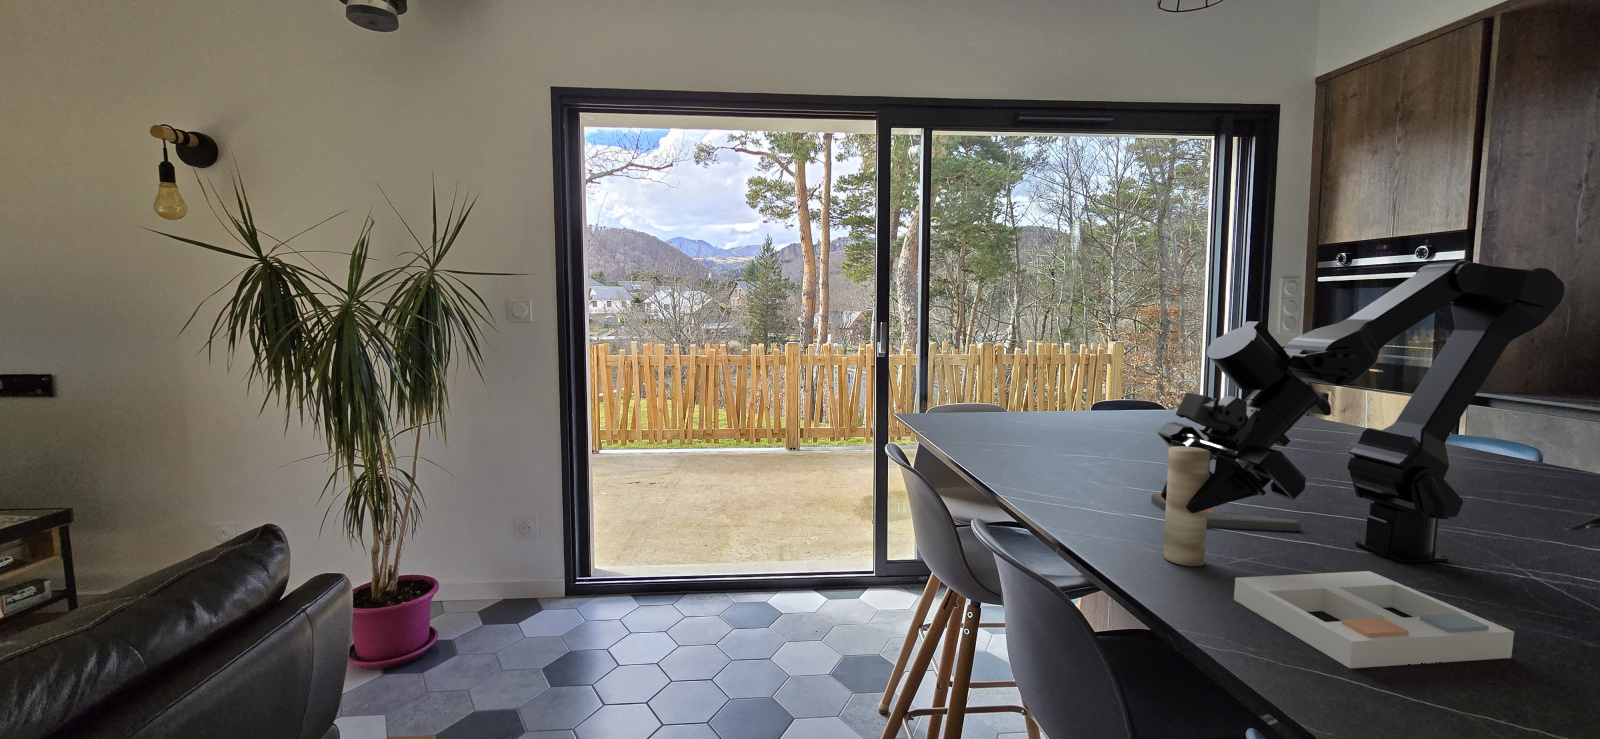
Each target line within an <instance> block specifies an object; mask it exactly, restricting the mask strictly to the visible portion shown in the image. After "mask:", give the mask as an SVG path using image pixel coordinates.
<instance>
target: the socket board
mask: <svg viewBox="0 0 1600 739" xmlns="http://www.w3.org/2000/svg"><path fill="white" fill-rule="evenodd" d="M1233 600H1234V601H1235V602H1237V603H1239V604H1240V605H1242V606H1244V607H1245V608H1247V609H1249V610H1250V611H1251V612H1254V613H1255V614H1257V615H1259V616H1260V617H1262V618H1264V619H1266V620H1267V621H1269V622H1271V623H1272V624H1274V625H1276V626H1277V627H1279V628H1281V629H1282V630H1284V631H1285V632H1288V633H1289V634H1291V635H1293V636H1294V637H1296V638H1298V639H1299V640H1301V641H1303V642H1304V643H1306V644H1308V645H1310V646H1311V647H1313V648H1314V649H1316V650H1318V651H1320V653H1321V652H1322V653H1323V654H1324V655H1327V656H1328V657H1330V658H1331V659H1333V660H1335V661H1336V662H1338V663H1340V664H1342V665H1343V666H1345V667H1346V668H1348V669H1361V668H1364V669H1365V668H1375V667H1376V668H1377V667H1390V666H1391V667H1393V666H1408V664H1410V665H1422V664H1421V663H1423V664H1424V663H1425V664H1438V663H1439V662H1441V663H1451V662H1452V663H1453V662H1467V661H1468V662H1469V661H1485V660H1498V659H1512V656H1513V654H1512V653H1513V646H1514V637H1515V631H1514V630H1511V629H1509V628H1506V627H1504V626H1502V625H1500V624H1497V623H1495V622H1492V621H1489V620H1487V619H1485V618H1483V617H1480V616H1478V615H1476V614H1473V613H1470V612H1468V611H1465V610H1464V609H1461V608H1459V607H1456V606H1453V605H1452V604H1450V603H1447V602H1444V601H1443V600H1439V599H1437V598H1435V597H1432V596H1430V595H1428V594H1425V593H1423V592H1420V591H1419V590H1416V589H1413V588H1411V587H1408V586H1405V585H1403V583H1400V582H1396V581H1394V580H1392V579H1389V578H1388V577H1384V576H1383V575H1380V574H1377V573H1376V572H1373V571H1370V570H1365V571H1362V570H1361V571H1345V572H1324V573H1322V572H1320V573H1304V574H1303V573H1302V574H1287V575H1286V574H1284V575H1263V576H1244V577H1241V576H1240V577H1235V580H1234V594H1233ZM1385 608H1392V609H1395V610H1398V611H1399V612H1402V613H1403V614H1406V615H1408V617H1403V616H1400V615H1398V614H1396V613H1395V612H1392V611H1390V610H1387V609H1385ZM1310 612H1312V613H1313V612H1323V613H1325V614H1327V615H1329V616H1331V617H1333V618H1335V619H1338V621H1324V620H1322V619H1320V618H1318V617H1316V616H1315V615H1313V614H1311V613H1310ZM1409 616H1410V617H1409ZM1436 662H1437V663H1436ZM1439 664H1440V663H1439Z"/></svg>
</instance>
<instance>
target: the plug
mask: <svg viewBox="0 0 1600 739" xmlns="http://www.w3.org/2000/svg"><path fill="white" fill-rule="evenodd" d="M1210 455H1211V452H1210V451H1208V450H1206V449H1201V448H1196V447H1186V446H1174V447H1170V446H1168V457H1167V458H1168V459H1167V474H1166V475H1167V477H1166V479H1167V480H1166V482H1167V495H1166V510H1165V514H1164V515H1165V517H1164V518H1165V519H1164V539H1163V540H1164V541H1163V558H1164V559H1165V560H1167V561H1169V562H1170V563H1173V564H1178V565H1181V566H1186V567H1201V566H1203V565H1205V562H1206V561H1205V559H1206V542H1207V528H1208V527H1207V509H1206V510H1203V511H1200V512H1197V513H1190V512H1189V511H1188V510H1187V509H1186V505H1187V504H1188V503H1189V501H1190V500H1191V499H1192V497H1193V496H1194V495H1195V494H1196V493H1197V491H1198V490H1199V489H1200V488H1201V487H1202V486H1203V485H1204V483H1205V482H1206V481H1207V480H1208V479H1209V473H1210V471H1211V461H1210Z"/></svg>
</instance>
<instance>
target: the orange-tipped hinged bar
mask: <svg viewBox="0 0 1600 739" xmlns="http://www.w3.org/2000/svg"><path fill="white" fill-rule="evenodd" d="M1151 503H1152V504H1153V505H1154V506H1156V507H1157V508H1159V509H1162V510H1163V511H1166V501H1165V500H1164V499H1163V498H1162V497H1161V493H1154V494H1152V495H1151ZM1206 528H1216V529H1217V528H1218V529H1219V528H1223V529H1239V530H1257V531H1258V530H1261V531H1278V532H1280V531H1281V532H1282V531H1283V532H1296V531H1299V532H1301V530H1302V529H1301V524H1300V522H1299V521H1297V520H1296V519H1293V518H1292V519H1291V518H1289V519H1288V518H1275V517H1272V516H1269V515H1267V516H1266V515H1255V514H1254V515H1252V514H1244V513H1239V512H1229V511H1218V510H1215V509H1212V508H1209V509H1207V527H1206Z"/></svg>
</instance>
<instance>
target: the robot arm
mask: <svg viewBox="0 0 1600 739" xmlns="http://www.w3.org/2000/svg"><path fill="white" fill-rule="evenodd" d="M1565 289H1566V288H1565V284H1564V282H1563V280H1562V279H1561V278H1560V277H1559V278H1558V276H1557V274H1556V273H1555V272H1553V271H1552V270H1550V269H1548V268H1546V267H1545V268H1544V267H1532V268H1530V267H1529V268H1528V267H1527V268H1511V267H1504V266H1503V267H1502V266H1493V265H1486V264H1483V263H1477V262H1472V261H1469V260H1457V261H1444V262H1442V261H1441V262H1431V263H1428V264H1426V265H1423V266H1421V267H1420V268H1419V269H1417V271H1416V273H1415V274H1414V275H1413V276H1410V277H1409V278H1408V279H1406V280H1405V281H1403V282H1402V283H1400V284H1399V285H1397V286H1395V287H1394V288H1392V289H1391V290H1389V291H1388V292H1386V293H1385V294H1383V295H1382V296H1380V297H1378V298H1377V299H1376V300H1374V301H1372V302H1371V303H1369V304H1368V305H1367V306H1365V307H1363V308H1362V309H1360V310H1358V311H1357V312H1355V313H1353V314H1352V315H1351V316H1349V317H1348V318H1346V319H1344V320H1342V321H1340V322H1337V323H1333V324H1329V325H1326V326H1321V327H1319V328H1315V329H1312V330H1310V331H1308V332H1306V333H1303V334H1301V335H1298V336H1296V337H1294V338H1293V339H1291V340H1290V341H1289V342H1288V343H1286V345H1284V346H1283V345H1281V344H1280V343H1279V342H1278V341H1277V340H1276V339H1275V338H1274V337H1273V335H1272V334H1271V333H1270V331H1269V329H1268V327H1267V326H1266V325H1265V324H1264V323H1263V322H1262V321H1246V323H1244V325H1242V326H1241V327H1238V328H1234V329H1232V330H1230V331H1228V332H1226V333H1224V334H1223V335H1221V336H1218V337H1216V338H1215V339H1214V340H1213V341H1212V342H1211V343H1210V345H1209V346H1208V348H1207V351H1206V355H1207V356H1208V358H1209V359H1210V360H1211V361H1212V362H1213V363H1214V364H1215V365H1216V366H1217V367H1218V369H1220V371H1221V372H1222V373H1223V374H1224V375H1225V376H1226V377H1227V379H1229V380H1230V381H1231V382H1232V384H1233V385H1234V386H1235V387H1236V388H1237V389H1240V390H1243V391H1247V390H1248V391H1249V390H1253V391H1252V392H1251V393H1250V394H1249V395H1248V396H1247V397H1246V398H1245V399H1242V398H1240V397H1237V396H1232V395H1225V396H1223V397H1222V398H1220V399H1218V398H1214V397H1211V396H1208V395H1204V394H1199V393H1193V392H1188V391H1187V392H1186V393H1185V395H1184V396H1183V398H1182V400H1181V403H1180V404H1179V407H1178V408H1177V410H1176V412H1175V416H1177V417H1179V418H1181V419H1182V418H1185V419H1187V420H1189V421H1191V422H1193V423H1195V424H1198V425H1200V426H1199V427H1197V428H1198V430H1199V431H1200V432H1201V434H1202V435H1204V436H1206V437H1207V438H1208V439H1207V441H1206V440H1205V438H1203V437H1202V436H1201V434H1200V433H1199V432H1198V431H1197V430H1196V429H1195V428H1194V427H1193V426H1192V425H1191V426H1190V425H1188V424H1183V423H1179V422H1166V423H1165V424H1164V425H1163V426H1162V427H1161V428H1160V429H1159V430H1158V431H1157V435H1158V436H1159V437H1160V438H1161V440H1163V441H1164V442H1165V444H1166V445H1168V447H1174V446H1186V447H1196V448H1201V449H1206V450H1208V451H1210V452H1211V455H1210V462H1211V461H1212V460H1214V461H1215V467H1214V471H1213V472H1212V471H1211V470H1210V473H1209V479H1208V480H1207V481H1206V482H1205V483H1204V485H1203V486H1202V487H1201V488H1200V489H1199V490H1198V491H1197V493H1196V494H1195V495H1194V496H1193V497H1192V499H1191V500H1190V501H1189V503H1188V504H1187V505H1186V509H1187V510H1188V511H1189V512H1190V513H1197V512H1200V511H1203V510H1206V509H1209V508H1210V509H1212V508H1215V507H1218V506H1222V505H1225V504H1228V503H1231V502H1235V501H1238V500H1239V501H1240V500H1244V499H1248V498H1250V497H1254V496H1260V497H1264V496H1265V495H1266V494H1267V492H1266V490H1264V488H1265V487H1266V486H1267V485H1268V484H1269V483H1270V482H1271V484H1270V491H1271V492H1272V493H1273V495H1276V496H1279V497H1282V498H1284V499H1286V500H1289V501H1293V502H1294V501H1295V500H1296V499H1297V498H1299V496H1300V495H1301V494H1302V493H1303V492H1304V491H1306V484H1307V482H1306V481H1307V478H1306V476H1305V475H1304V474H1303V473H1302V472H1301V471H1300V470H1299V469H1298V468H1297V467H1296V465H1295V464H1293V462H1291V460H1290V459H1289V458H1288V457H1287V456H1286V454H1284V453H1283V452H1282V451H1281V450H1278V449H1273V447H1274V446H1280V447H1286V446H1287V445H1289V443H1290V442H1291V440H1290V439H1289V437H1288V436H1287V435H1286V434H1287V433H1289V431H1290V430H1291V429H1292V428H1293V427H1294V426H1296V424H1297V423H1298V422H1299V421H1300V420H1301V419H1302V418H1304V417H1305V415H1306V414H1307V413H1310V414H1316V415H1320V416H1326V417H1329V416H1330V415H1331V413H1332V407H1331V404H1330V401H1329V397H1330V395H1329V393H1328V392H1322V391H1318V390H1317V389H1316V388H1315V387H1314V386H1313V384H1312V383H1318V384H1324V385H1333V386H1342V387H1343V386H1348V385H1350V384H1352V383H1355V382H1356V381H1358V379H1360V378H1361V377H1362V376H1363V375H1364V374H1365V373H1366V372H1367V371H1369V369H1370V368H1372V367H1373V366H1374V365H1375V364H1376V363H1377V361H1378V358H1379V354H1380V350H1382V349H1383V347H1385V346H1386V345H1387V344H1388V343H1390V342H1392V341H1393V340H1394V339H1397V338H1398V337H1399V336H1401V335H1402V334H1404V333H1405V332H1408V330H1410V329H1412V328H1413V327H1415V326H1416V325H1417V324H1419V323H1421V322H1422V321H1424V320H1426V319H1427V318H1428V317H1430V316H1431V315H1433V314H1435V313H1437V312H1438V311H1439V310H1440V309H1442V308H1444V307H1445V306H1447V305H1448V304H1450V303H1452V305H1451V307H1450V308H1451V309H1450V310H1451V313H1452V317H1453V323H1454V326H1455V327H1454V329H1453V331H1452V332H1451V334H1450V336H1449V337H1448V339H1447V340H1446V342H1445V344H1444V345H1443V347H1442V348H1441V350H1440V352H1439V353H1438V354H1437V356H1436V358H1435V359H1434V361H1433V362H1432V364H1431V365H1430V367H1429V368H1428V370H1427V372H1426V373H1425V375H1424V376H1423V378H1422V380H1421V381H1420V383H1419V384H1418V386H1417V387H1416V389H1415V390H1414V391H1413V394H1412V395H1411V397H1410V399H1408V402H1407V403H1406V404H1405V406H1404V408H1403V410H1402V411H1401V412H1400V414H1399V416H1398V417H1397V418H1396V420H1395V421H1394V422H1393V423H1392V424H1391V425H1389V426H1388V427H1385V428H1383V429H1380V428H1379V429H1378V428H1374V427H1367V428H1366V429H1365V430H1363V431H1362V433H1361V435H1360V437H1359V440H1358V442H1357V444H1355V446H1354V447H1353V448H1352V449H1351V450H1349V452H1348V454H1349V455H1350V456H1351V457H1350V458H1349V461H1348V463H1347V470H1348V471H1349V475H1350V476H1349V477H1350V478H1351V482H1352V484H1353V489H1354V492H1355V495H1356V497H1357V498H1359V499H1365V500H1367V501H1372V502H1370V503H1369V512H1368V515H1367V516H1366V524H1365V525H1366V527H1365V539H1360V540H1359V539H1358V540H1357V539H1356V540H1354V545H1356V546H1358V547H1361V548H1363V549H1366V550H1368V551H1370V552H1374V553H1375V554H1379V555H1381V556H1384V557H1387V558H1390V559H1392V560H1395V561H1397V562H1400V563H1404V564H1416V563H1419V564H1420V563H1436V562H1439V563H1440V562H1449V561H1450V557H1449V556H1447V555H1444V554H1442V553H1439V552H1437V551H1436V550H1437V543H1438V534H1439V533H1438V531H1439V522H1440V519H1441V520H1449V518H1455V517H1456V518H1457V517H1458V515H1459V513H1460V511H1461V508H1462V507H1463V505H1464V500H1463V499H1462V497H1461V496H1460V495H1459V494H1458V493H1457V492H1456V491H1455V490H1454V489H1453V488H1452V487H1451V485H1450V484H1449V483H1448V481H1446V480H1445V477H1446V475H1447V473H1448V470H1449V469H1450V468H1449V467H1450V462H1449V457H1448V453H1447V452H1448V451H1447V447H1446V442H1447V440H1448V438H1449V436H1450V435H1451V433H1452V432H1453V430H1454V428H1455V427H1456V426H1457V424H1458V422H1459V421H1460V419H1461V418H1462V416H1463V415H1464V413H1465V412H1466V410H1467V409H1468V407H1469V405H1470V404H1471V402H1472V401H1473V399H1474V397H1476V395H1477V393H1478V391H1479V390H1480V389H1481V387H1482V385H1483V384H1484V382H1485V380H1486V379H1487V377H1488V376H1489V374H1490V373H1491V372H1492V370H1493V368H1494V367H1495V365H1496V363H1497V362H1498V361H1499V359H1500V358H1501V355H1502V354H1503V353H1504V351H1505V350H1506V348H1507V346H1508V345H1509V344H1510V343H1511V342H1512V341H1514V340H1515V339H1517V338H1520V337H1523V336H1524V335H1525V334H1527V333H1529V332H1531V331H1533V330H1535V329H1536V328H1538V327H1540V326H1541V325H1542V324H1543V323H1544V322H1545V321H1546V320H1547V319H1548V318H1549V316H1550V315H1551V314H1552V313H1553V312H1554V311H1555V310H1556V309H1557V307H1558V306H1559V305H1560V304H1561V302H1562V300H1563V297H1564V295H1565ZM1164 484H1165V485H1164V487H1163V489H1162V490H1161V493H1160V494H1161V497H1162V498H1163V499H1164V500H1165V501H1166V495H1167V481H1166V482H1165V483H1164Z"/></svg>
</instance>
